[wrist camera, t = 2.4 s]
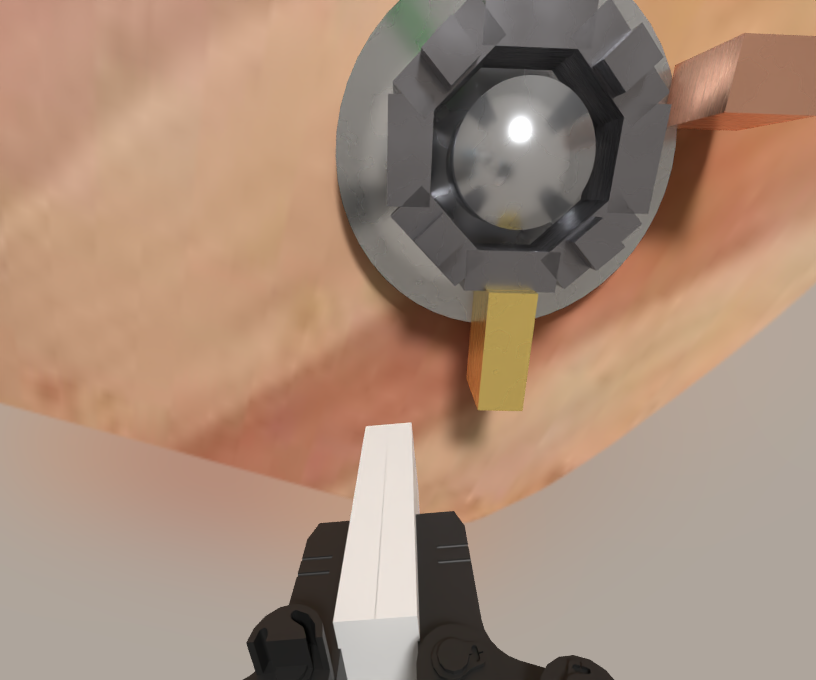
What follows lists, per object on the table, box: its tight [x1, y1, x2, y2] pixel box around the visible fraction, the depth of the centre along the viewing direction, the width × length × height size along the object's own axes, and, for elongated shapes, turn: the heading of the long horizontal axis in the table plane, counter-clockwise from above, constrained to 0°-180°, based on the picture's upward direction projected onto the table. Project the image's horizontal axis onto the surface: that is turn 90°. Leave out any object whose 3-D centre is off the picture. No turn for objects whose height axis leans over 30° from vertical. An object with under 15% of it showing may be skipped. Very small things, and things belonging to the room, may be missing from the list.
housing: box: [336, 0, 816, 322], centre depth 21 cm, size 21×18×6 cm
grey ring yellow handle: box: [387, 0, 672, 411], centre depth 21 cm, size 19×12×4 cm, turn 178°
